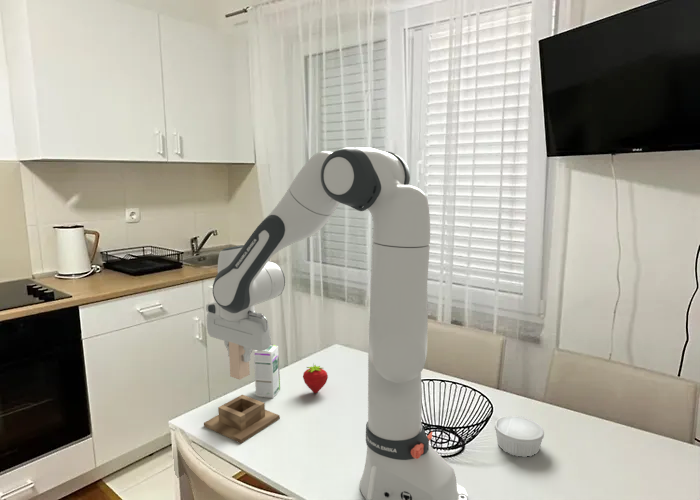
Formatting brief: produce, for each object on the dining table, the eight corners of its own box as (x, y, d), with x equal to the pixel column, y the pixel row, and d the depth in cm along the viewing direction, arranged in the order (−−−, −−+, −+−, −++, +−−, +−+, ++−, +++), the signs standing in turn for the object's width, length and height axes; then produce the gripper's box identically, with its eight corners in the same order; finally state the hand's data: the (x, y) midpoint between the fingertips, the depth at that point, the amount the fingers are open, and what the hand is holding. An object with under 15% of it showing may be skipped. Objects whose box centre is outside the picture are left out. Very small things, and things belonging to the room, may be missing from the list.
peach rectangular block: (249, 374, 124) (248, 331, 122) (239, 379, 121) (237, 335, 119) (240, 371, 126) (238, 328, 124) (230, 376, 123) (228, 332, 121)
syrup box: (273, 398, 139) (272, 351, 137) (255, 396, 140) (253, 350, 138) (280, 389, 145) (279, 344, 142) (262, 387, 146) (260, 343, 143)
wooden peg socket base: (279, 418, 128) (279, 401, 127) (241, 443, 116) (240, 424, 116) (243, 404, 136) (242, 388, 135) (203, 426, 124) (202, 408, 123)
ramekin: (486, 435, 120) (487, 416, 119) (529, 432, 121) (530, 413, 120) (505, 462, 109) (506, 441, 108) (551, 459, 110) (552, 438, 109)
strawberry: (326, 398, 139) (326, 366, 137) (301, 397, 140) (300, 365, 138) (329, 389, 145) (329, 358, 143) (305, 387, 146) (304, 357, 144)
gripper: (275, 311, 117) (277, 364, 120) (220, 298, 129) (222, 347, 131) (257, 318, 112) (259, 373, 115) (201, 304, 123) (204, 354, 126)
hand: (239, 359), depth 123 cm, fingers closed on peach rectangular block, 3 cm apart
